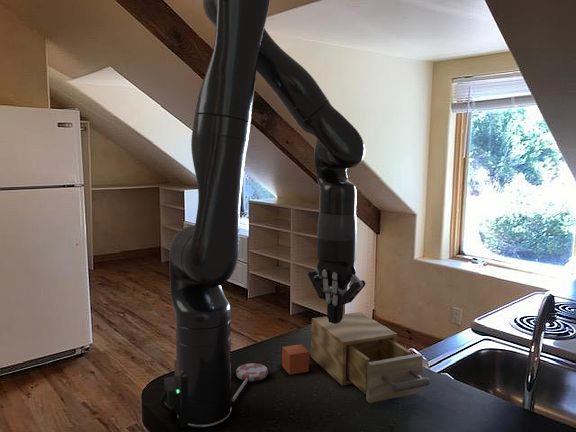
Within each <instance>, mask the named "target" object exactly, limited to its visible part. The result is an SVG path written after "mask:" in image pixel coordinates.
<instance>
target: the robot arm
mask: <svg viewBox="0 0 576 432" xmlns="http://www.w3.org/2000/svg"><path fill="white" fill-rule="evenodd" d="M202 5H203V6H202V7H203V11H204V14H205V16H206V18H207V20H208V21H209V22H210V23H211V25H212V26H213V27H214V28H215V37H214V43H213V49H212V54H211V57H210V61H209V64H208V65H207V69H206V72H205V74H204V76H203V77H204V78H203V79H202V82H201V86H200V89H199V91H198V95H197V99H196V103H195V109H194V115H193V124H192V131H191V142H190V143H191V144H190V146H191V150H190V151H191V159H192V164H193V170H194V173H195V179H196V184H197V185H196V186H197V193H198V194H197V195H198V199H197V201H198V202H197V209H196V217H195V224H192V225H188V226H185V227H183V228H182V229H181V230H179V231H178V232H177V233H176V234H175V236H173V239H172V241H171V244H170V247H169V256H168V261H169V262H168V266H169V267H168V269H169V284H170V298H171V303H172V304H171V305H172V307H173V310H174V314H175V315H174V316H175V351H176V354H175V355H176V357H175V358H176V359H175V360H174V362H173V367H174V368H173V369H174V370H173V371H174V376H169V377H164V378H163V379H164V380H163V385H164V386H163V389H164V390H163V393H162V394H161V396H160V398H159V403H160V406H161V407H162V409H164V410H165V411H166V412H167V413H170V412H172V410H173V408H172V407H174V412H175V415H176V419H177V421H178V424H179V427H180V429H186V428H187V429H188V428H190V429H194V430H195V429H196V430H205V429H211V428H215V427H218V426H221V425H222V424H224V423H226V422H227V421H228V420H229V419H230V418H231V416H232V401H231V399H232V398H233V389H232V357H231V356H232V352H231V351H232V350H231V349H232V347H231V345H232V341H231V340H232V339H231V337H232V335H231V334H232V330H231V328H232V327H231V325H232V323H231V321H232V317H231V316H232V315H231V311H232V310H231V303H230V302H229V300H228V299H227V297H226V295H225V293H224V290H223V288H222V285H224V284H225V283H226V282H228V281H229V279H230V278H231V277H232V275H233V274H234V272H235V270H236V267H237V265H238V261H239V252H240V228H241V227H240V225H241V224H240V223H241V221H240V220H241V200H242V192H243V184H244V177H245V168H246V167H245V166H246V159H247V158H246V157H247V153H248V152H247V151H248V147H249V141H250V133H251V123H252V112H253V103H254V96H255V95H254V94H255V87H256V80H257V79H256V78H257V77H256V76H257V74H259V75H260V77H261V78H262V79H263V80H264V82H265V83H266V84H267V85H268V87H269V88H270V89H271V90H272V92H273V93H274V94H275V96H276V97H277V98H278V99H279V101H280V102H281V104H282V105H283V106H284V108H285V109H286V110H287V111H288V113H289V115H290V116H291V117H292V118H293V120H294V121H295V123H296V124H297V125H298V126H299V128H300V129H301V130H302V131H303V132H305V133H308V134H311V135H312V136H314V137H315V138H316V139H317V140H316V142H315V146H314V150H313V160H314V161H313V162H314V167H315V173H316V179H317V183H318V187H319V201H318V202H319V203H318V204H319V205H318V206H319V208H318V219H317V231H316V232H317V233H316V234H317V238H316V240H317V241H316V258H317V259H318V262H317V265H316V268H315V269H314V270H312V271H308V273H307V276H308V278H309V280H310V282H311V284H312V286H313V289H314V290H315V292H316V294H317V296H318V298H319V299H320V300H324V301H325V303H326V316H327V318H328V321H329V322H330V323H333V324H337V323H339V322H340V321H341V320H342V318H343V314H344V305H346V304H349V303H352V302H353V301H354V299H355V298H356V297H357V296H358V294H360V293H361V291H362V290H363V289H364V288H365V286H366V280H364V279H361V280H360V279H359V277H358V276H357V274H356V273H357V271H356V270H357V269H356V267H355V262H356V259H357V235H358V234H357V232H358V223H357V222H358V221H357V188H356V185H355V184H354V183H353V182H351V181H350V180H349V179H348V174H347V173H348V171H347V169H354V168H356V167H358V166H359V165H360V164H361V163H362V162H363V160H364V157H365V153H366V147H365V142H364V140H363V138H362V135H361V134H360V132H359V131H358V130H357V128H356V127H354V125H353V124H352V123H351V122H349V120H348V119H347V118H346V117H345V116H344V115H343V114H342V113H341V112H339V110H337V109H336V108H335V107H334V106H333V105H332V104H331V102H330V100H329V98H328V97H327V96H326V94H325V93H324V91H323V90H322V88H321V87H320V85H319V84H318V83H317V81H316V80H315V79H314V77H313V76H312V75H311V74H310V73H309V72H308V70H306V69H305V68H304V67H303V66H302V65H301V63H299V62H297V61H296V60H295V59H294V58H293V57H292V56H290V55H289V54H288V53H287V52H285V51H284V50H283V48H281V47H280V46H279V45H278V44H277V42H275V40H274V39H273V38H272V37H271V35H270V34H269V33H268V31H267V30H266V28H265V26H266V22H267V18H268V14H269V9H270V5H271V0H202ZM166 402H167V403H166Z"/></svg>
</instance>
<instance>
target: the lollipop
mask: <svg viewBox="0 0 576 432" xmlns="http://www.w3.org/2000/svg"><path fill="white" fill-rule="evenodd" d="M268 374H269V370H268V368H267V367H266V366H265V365H263V364H262V363H261V364H260V363H251V362H250V363H245V364H241V365H240V366H238V367H237V368H236V370H235V375H236V377H237V378H238V379H239V380H242V381H243V382H242V384H241V385H240V386H239V387H238V389H237V390H236V392H235V394H234V395H232V397H231V402H235V401H236V399H237V398H238V396H239V394H240V393H241V392H242V391H243V389H244V388H245V386H246V384H247V383H248V382H258V381H261V380H264V379H266V378H267V376H268Z"/></svg>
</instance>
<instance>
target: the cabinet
mask: <svg viewBox="0 0 576 432" xmlns="http://www.w3.org/2000/svg"><path fill="white" fill-rule="evenodd" d="M389 338H390V339H391V340H393V341H394V342H396V343H397V341H398V333H396V332H395V331H393V330H392V329H391V328H388V327H387V326H385V325H383V324H382V323H380V322H378V321H376V320H375V319H373V318H371V317H370V316H368V315H366V314H365V313H364V312H361V311H358V312H349V313H343V318H342V320H341V321H340V322H339V323H337V324H333V323H330V322H329V321H328V318H327V315H326V316H318V317H312V318H311V341H310V343H311V344H310V358H311V359H312V360H314V361H315V362H316V363H317V364H318V365H319V366H320V367H321V368H322V369H323V370H325V372H327V374H329V375H330V376H331V377H332V379H334V380H335V381H336V382H337V383H338V384H339V385H341V386H349V385H354V384H353V383H352V382H351V381H350V380H349V379H347V378H346V345H351V344H358V343H364V342H370V341H377V340H383V339H389Z"/></svg>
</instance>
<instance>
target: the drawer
mask: <svg viewBox="0 0 576 432" xmlns="http://www.w3.org/2000/svg"><path fill="white" fill-rule="evenodd" d="M412 353H413V352H412V351H411V350H409V349H407V348H406V347H405V346H403V345H401V344H399V343H396V342H394V341H393V340H391V339H390V338H389V339H383V340H377V341H370V342H364V343H358V344H351V345H346V378H347V379H349V380H350V381H351V382H352V383H353V384H352V385H354V386H355V387H356V388H358V389H359V391H361V392H362V393H363V394H364V395H366V396H365V397H366V398H365V400H366V402H368V403H369V404H373V403H378V402H382V401H386V400H391V399H396V398H401V397H405V396H409V395H414V394H418V393H419V394H420V393H422V387H427V386H429V385H430V379H429V377H423V362H424V361H423V359H424V356H423V355H422V354H420V353H413V354H412Z"/></svg>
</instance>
